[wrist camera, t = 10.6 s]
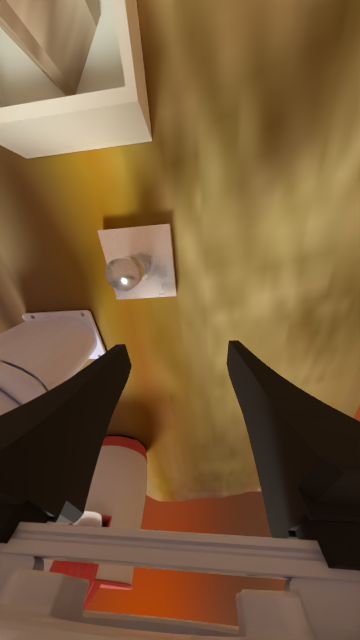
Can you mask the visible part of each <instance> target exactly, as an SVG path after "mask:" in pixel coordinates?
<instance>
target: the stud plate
mask: <svg viewBox="0 0 360 640" xmlns="http://www.w3.org/2000/svg"><path fill="white" fill-rule="evenodd" d="M98 235H99V238H100V242H101V245H102V249H103V252H104V256H105V259H106V263H107V267H106V278H107V280H108V282H109V283H110V285H111V286H112V287H114V291H115V294H116V298H117V299H133V298H151V297H168V296H176V294H177V290H176V278H175V267H174V256H173V245H172V233H171V225H170V224H160V225H150V226H139V227H129V228H118V229H108V230H98Z"/></svg>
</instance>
